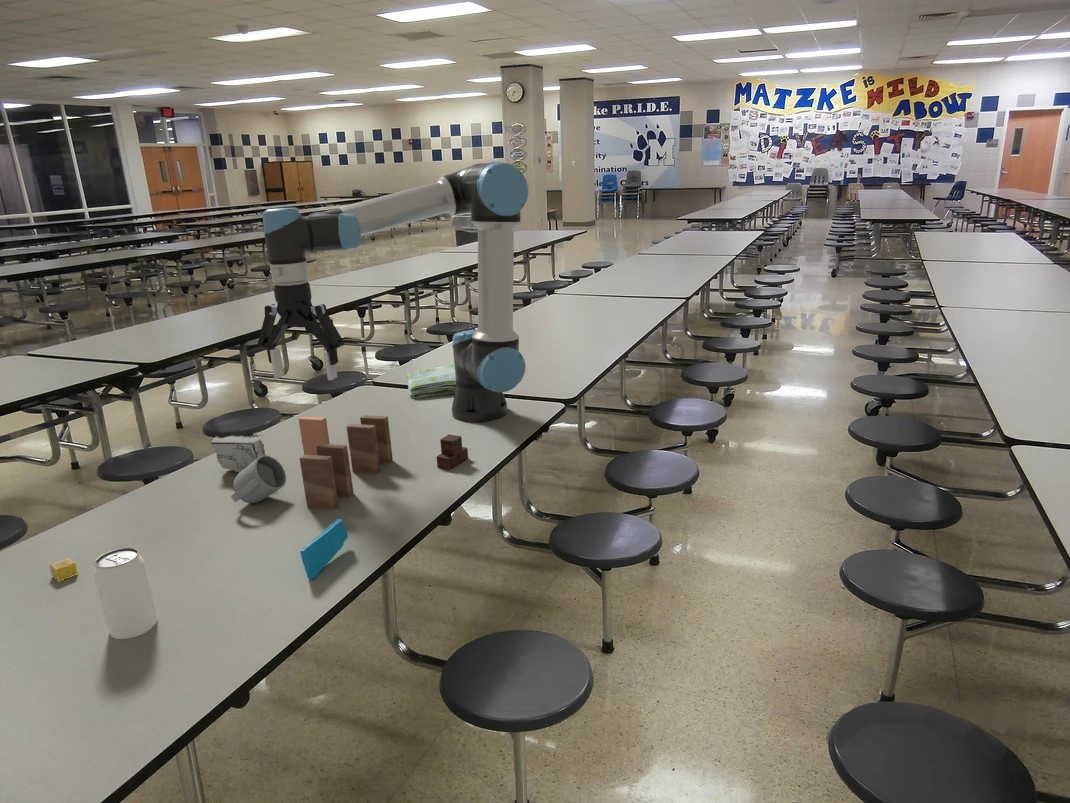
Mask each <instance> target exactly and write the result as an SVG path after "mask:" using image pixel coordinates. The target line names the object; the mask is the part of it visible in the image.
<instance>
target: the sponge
mask: <svg viewBox="0 0 1070 803" xmlns="http://www.w3.org/2000/svg"><path fill="white" fill-rule="evenodd" d="M348 535H349V534H348V530H347V529H346V525H345V521H344V520H343V519H342V518H341V519H340V518H338V519H336V520H334V521H333V522H332V523H330V525H328V527H327V526H326V528H325V529H324V530H323V531H322V532H321V533H320V534H319V535H318V536H317V537H315V538H314V539H313V540H311V541H310V542H308V544H306V545H305V546H304V547H303V548H301V549H300V558H301V561H302V564H303V567H304V570H305V573H306V577H307V579H308V580H309V581H312V580H313V579H315V578H316V577H317V576H318V575H319V573H320V572H321V571H322V570H323V569H324V567H325V566H326V565H328V564H329V562H330V561H331V560H333V558H334V557H335V556H336V554H337V553H338V552H339V551H340V550H341V549H342V548H343V546H344V545H345V544H344V543H345V542H346V540H347V539H348V538H349V536H348Z"/></svg>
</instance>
